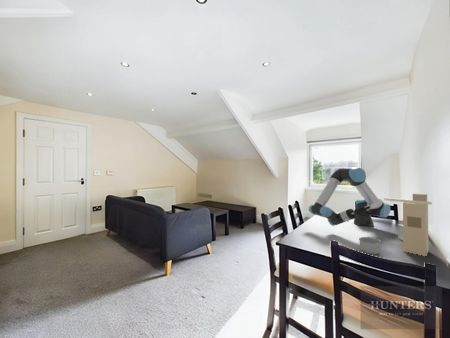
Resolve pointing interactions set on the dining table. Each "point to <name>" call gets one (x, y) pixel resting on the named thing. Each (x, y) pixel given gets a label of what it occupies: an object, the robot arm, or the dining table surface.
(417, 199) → the flap strip
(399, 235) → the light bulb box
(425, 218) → the carton
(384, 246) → the dining table surface
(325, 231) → the dining table surface
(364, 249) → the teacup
